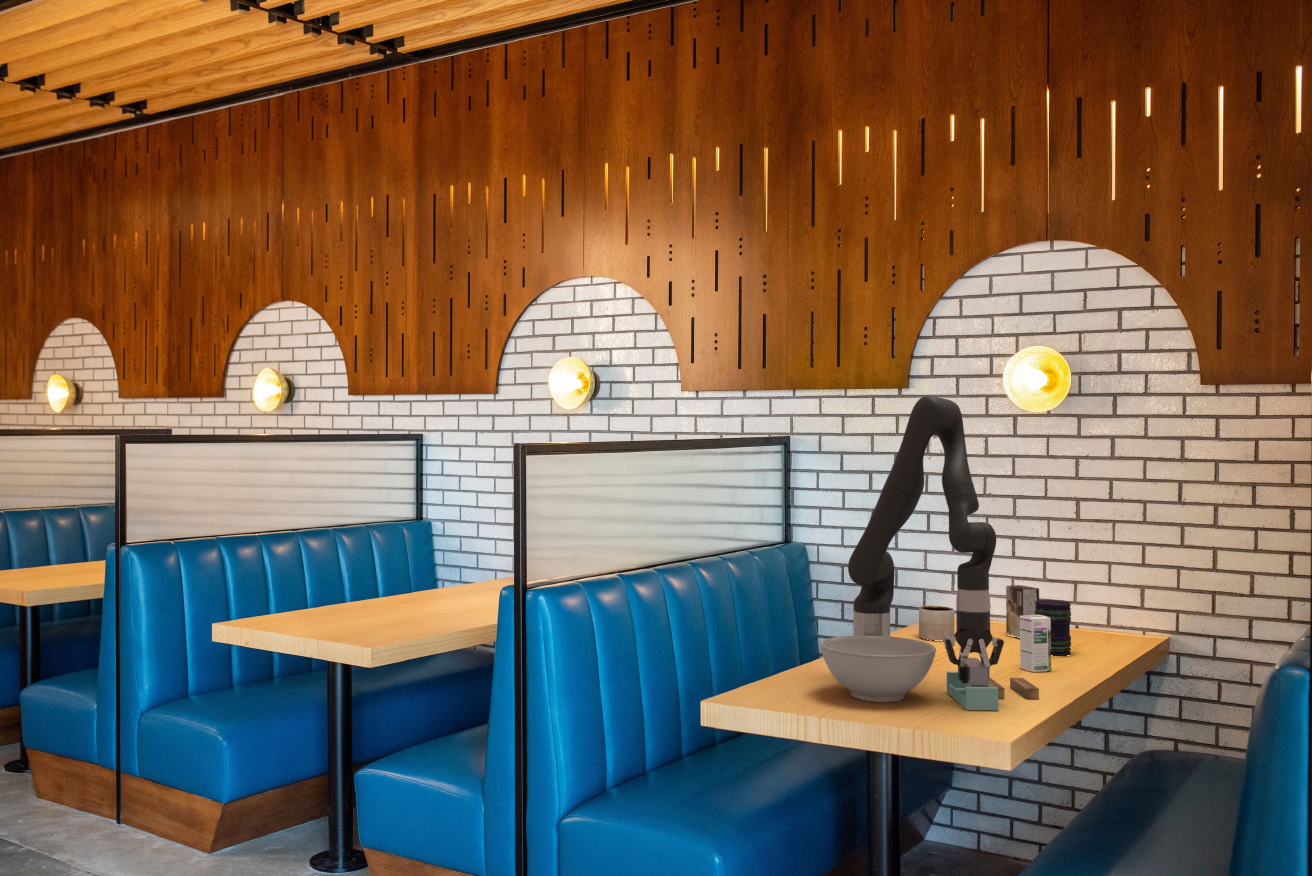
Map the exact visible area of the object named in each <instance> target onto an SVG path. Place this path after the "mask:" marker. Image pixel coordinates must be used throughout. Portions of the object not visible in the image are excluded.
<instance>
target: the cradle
mask: <svg viewBox="0 0 1312 876" xmlns="http://www.w3.org/2000/svg"><path fill="white" fill-rule="evenodd" d="M946 694H948V695H949V696H950V697H951V696H952V697H953V698H954V699H955V700H954V699H953V700H954V701H955V702H956V703H957V704H959V705H960V706H961V707H962V708H963V707H964V708H965V710H966V711H967V710H993V711H992V712H999V699H998V688H997V687H967V686H966V685H965V684H964V683H962V682H961V681H960V680H959V678H958V671H946ZM952 697H951V698H952ZM964 708H963V709H964ZM995 710H996V711H995Z"/></svg>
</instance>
